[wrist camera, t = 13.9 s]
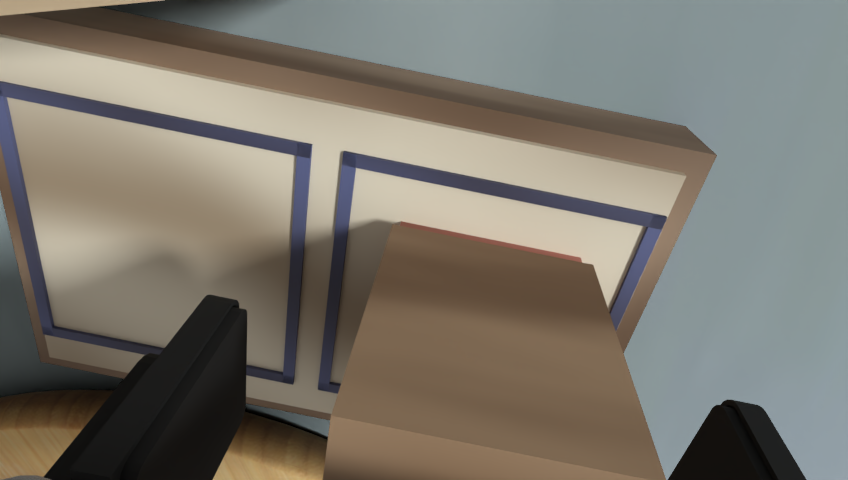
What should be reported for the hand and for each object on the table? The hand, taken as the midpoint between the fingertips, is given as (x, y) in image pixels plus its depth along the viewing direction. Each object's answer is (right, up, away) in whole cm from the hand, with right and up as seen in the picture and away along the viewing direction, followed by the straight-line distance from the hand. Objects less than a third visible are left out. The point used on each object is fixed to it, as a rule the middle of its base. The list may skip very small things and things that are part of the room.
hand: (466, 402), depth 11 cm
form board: (-3, +3, +5) cm, 6 cm away
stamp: (0, +1, +3) cm, 3 cm away
